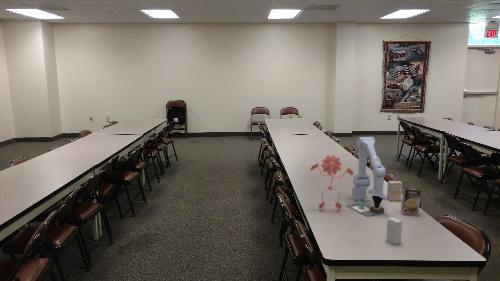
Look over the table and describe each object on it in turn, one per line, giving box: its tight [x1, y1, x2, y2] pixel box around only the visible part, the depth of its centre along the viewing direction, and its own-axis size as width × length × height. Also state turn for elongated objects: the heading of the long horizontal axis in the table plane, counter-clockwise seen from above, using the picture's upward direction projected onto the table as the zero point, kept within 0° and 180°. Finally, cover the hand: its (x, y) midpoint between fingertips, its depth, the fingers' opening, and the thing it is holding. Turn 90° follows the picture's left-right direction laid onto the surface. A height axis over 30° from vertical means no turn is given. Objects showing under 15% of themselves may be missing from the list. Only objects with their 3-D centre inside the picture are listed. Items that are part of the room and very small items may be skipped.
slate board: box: [345, 202, 386, 218], centre depth 232 cm, size 20×14×3 cm
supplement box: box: [386, 180, 403, 202], centre depth 248 cm, size 8×5×13 cm, turn 92°
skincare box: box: [385, 216, 403, 245], centre depth 188 cm, size 6×4×12 cm
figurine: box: [309, 154, 354, 214], centre depth 231 cm, size 15×26×35 cm, turn 84°
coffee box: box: [400, 186, 422, 217], centre depth 225 cm, size 9×6×16 cm
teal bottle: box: [358, 199, 366, 209], centre depth 232 cm, size 3×3×6 cm
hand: (376, 207), depth 227 cm, fingers closed, pressing on done button
